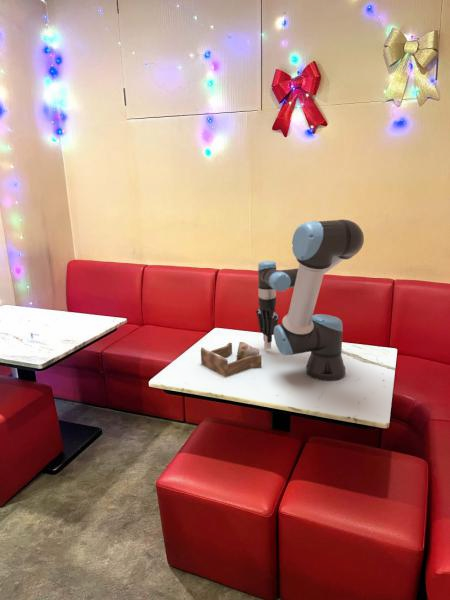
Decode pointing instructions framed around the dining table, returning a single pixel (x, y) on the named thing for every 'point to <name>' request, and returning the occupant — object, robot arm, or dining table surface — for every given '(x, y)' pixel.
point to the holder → (220, 364)
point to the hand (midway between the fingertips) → (267, 348)
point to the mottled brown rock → (246, 350)
